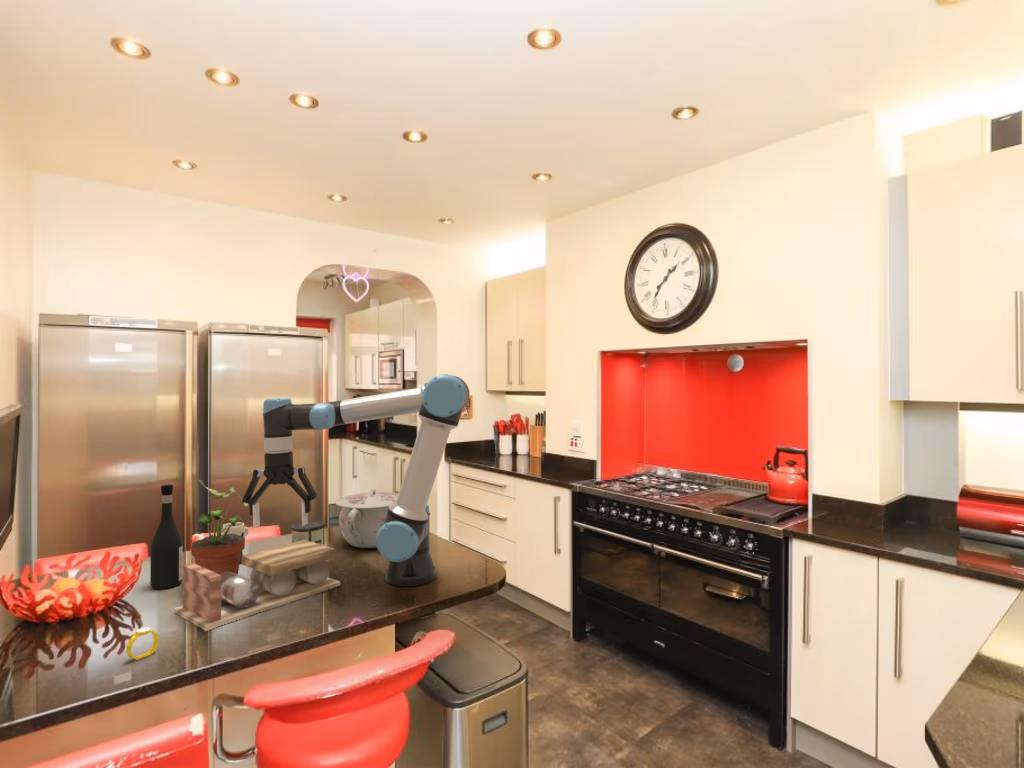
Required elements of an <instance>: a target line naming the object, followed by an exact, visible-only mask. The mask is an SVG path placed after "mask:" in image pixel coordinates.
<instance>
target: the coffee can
mask: <svg viewBox="0 0 1024 768" xmlns="http://www.w3.org/2000/svg"><path fill="white" fill-rule="evenodd" d="M325 526H326V523H325V522H324V521H322V520H308V523H307V524H306V525H304V526H302V521H301V522H297V523H294V524H292V525H291V543H295V542H299V541H303V540H307V541H310V542H313V543H317V544H320V545H324V546H325Z"/></svg>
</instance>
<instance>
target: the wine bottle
mask: <svg viewBox="0 0 1024 768" xmlns="http://www.w3.org/2000/svg"><path fill="white" fill-rule="evenodd" d="M160 491H161V515H160V521H159V524H158V527H157V529H156V531H155V533H154V535H153V538H152V542H151V545H150V575H149V576H150V578H149V580H150V583H149V585H150V587H151V588H153V589H154V590H155V589H156V590H167V589H171V588H174V587H176V586H178V585H180V584H181V583H182V582H183V541H182V536H181V533H180V532H179V530H178V528H177V526H176V523H175V520H174V516H173V491H174V485H173V484H163V485H160Z"/></svg>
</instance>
